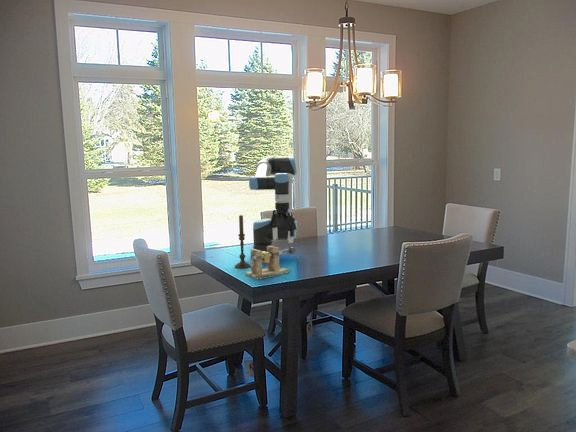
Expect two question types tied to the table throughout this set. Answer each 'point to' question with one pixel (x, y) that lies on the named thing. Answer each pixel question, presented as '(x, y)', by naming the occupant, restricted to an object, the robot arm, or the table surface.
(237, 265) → the candlestick holder
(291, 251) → the shaft
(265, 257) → the spacer
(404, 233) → the table surface
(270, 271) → the shaft stand
